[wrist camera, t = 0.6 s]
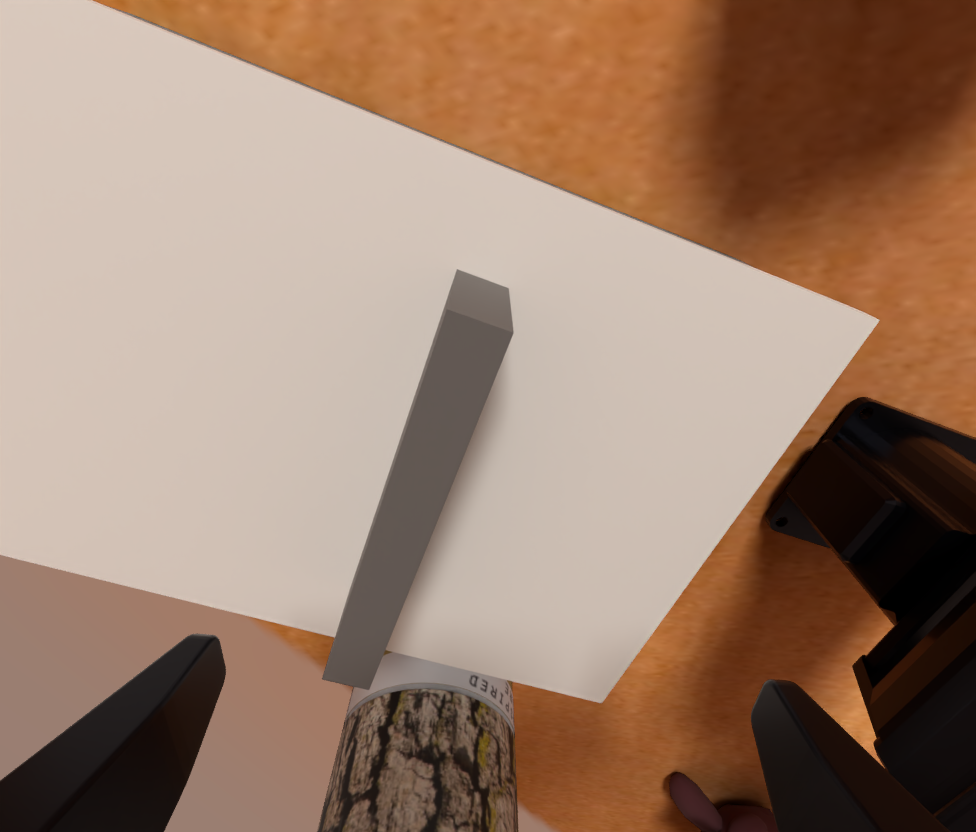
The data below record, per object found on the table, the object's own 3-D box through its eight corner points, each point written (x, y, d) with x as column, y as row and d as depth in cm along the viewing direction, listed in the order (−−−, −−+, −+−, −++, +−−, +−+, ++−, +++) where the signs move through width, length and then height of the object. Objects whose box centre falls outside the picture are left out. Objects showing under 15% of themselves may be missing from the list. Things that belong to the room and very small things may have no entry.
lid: (858, 309, 13) (988, 372, 10) (597, 682, 19) (620, 799, 16) (-88, -72, 10) (-393, -180, 6) (-28, 523, 16) (-166, 628, 13)
